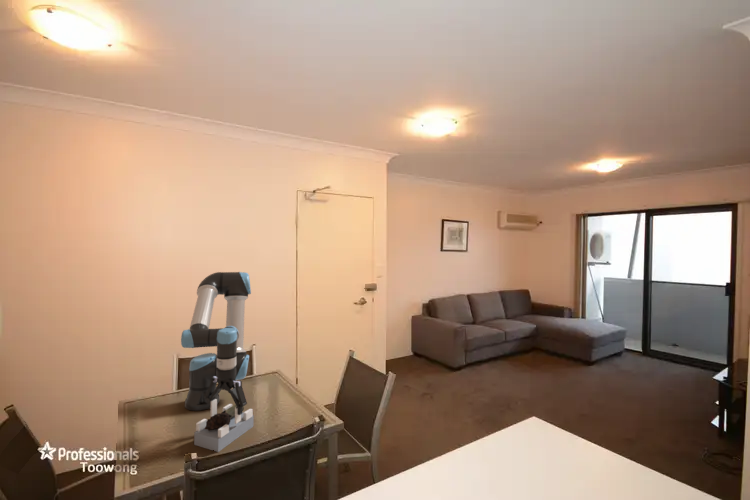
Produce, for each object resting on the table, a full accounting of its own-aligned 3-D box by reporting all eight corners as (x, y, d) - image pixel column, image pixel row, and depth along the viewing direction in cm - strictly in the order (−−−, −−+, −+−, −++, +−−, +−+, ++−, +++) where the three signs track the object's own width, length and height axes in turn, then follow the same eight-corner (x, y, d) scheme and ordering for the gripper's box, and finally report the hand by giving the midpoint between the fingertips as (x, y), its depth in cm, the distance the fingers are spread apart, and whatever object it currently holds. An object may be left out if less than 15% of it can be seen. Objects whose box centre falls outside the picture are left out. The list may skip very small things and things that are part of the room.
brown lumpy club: (234, 411, 155) (235, 398, 155) (247, 414, 153) (247, 402, 153) (202, 431, 139) (203, 417, 139) (216, 435, 136) (216, 421, 136)
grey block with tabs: (193, 444, 138) (194, 424, 138) (230, 420, 157) (231, 402, 157) (218, 452, 134) (219, 431, 134) (253, 426, 153) (254, 408, 153)
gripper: (196, 365, 145) (195, 417, 146) (244, 374, 137) (243, 429, 138) (210, 359, 152) (210, 408, 153) (256, 368, 144) (255, 420, 145)
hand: (225, 418), depth 145 cm, fingers open, 12 cm apart
